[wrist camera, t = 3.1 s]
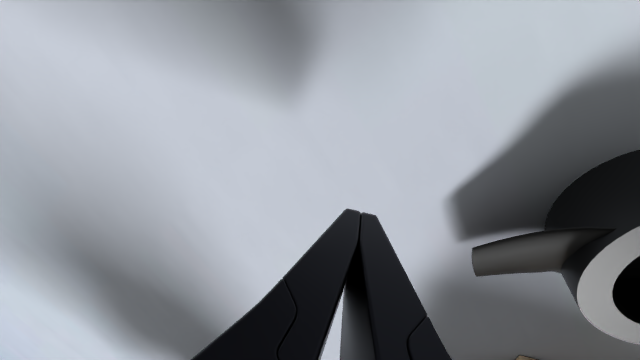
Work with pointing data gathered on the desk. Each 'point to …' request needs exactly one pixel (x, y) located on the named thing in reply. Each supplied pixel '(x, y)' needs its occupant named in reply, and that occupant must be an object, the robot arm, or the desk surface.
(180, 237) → the desk surface
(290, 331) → the robot arm
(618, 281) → the black ring with tabs
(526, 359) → the bearing block
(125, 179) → the desk surface
